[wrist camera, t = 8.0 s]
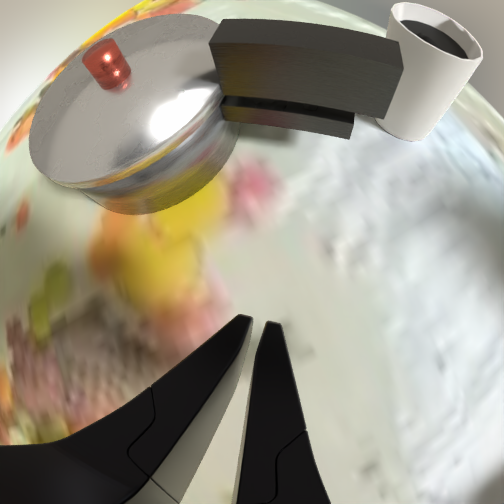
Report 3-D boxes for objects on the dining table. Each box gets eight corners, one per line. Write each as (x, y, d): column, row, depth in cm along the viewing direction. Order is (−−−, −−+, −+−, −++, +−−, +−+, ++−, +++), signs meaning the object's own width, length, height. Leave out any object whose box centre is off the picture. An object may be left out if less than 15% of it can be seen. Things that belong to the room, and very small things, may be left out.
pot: (327, 254, 19) (345, 224, 13) (38, 199, 23) (-2, 175, 17) (347, 89, 22) (357, 38, 16) (97, 82, 26) (73, 49, 20)
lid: (376, 239, 12) (413, 203, 8) (11, 181, 16) (-25, 159, 12) (376, 37, 16) (386, -7, 11) (97, 38, 19) (79, 10, 15)
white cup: (434, 157, 19) (491, 78, 10) (360, 129, 21) (390, 31, 11) (434, 104, 21) (473, 28, 11) (370, 79, 22) (391, -7, 12)
